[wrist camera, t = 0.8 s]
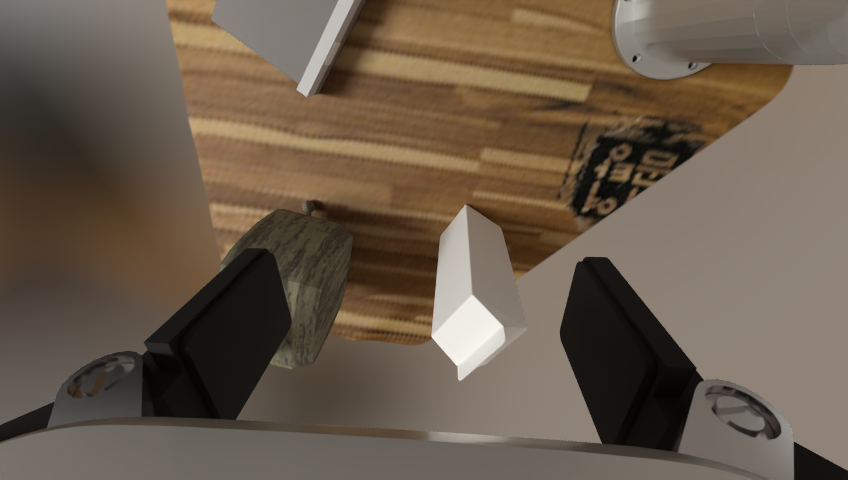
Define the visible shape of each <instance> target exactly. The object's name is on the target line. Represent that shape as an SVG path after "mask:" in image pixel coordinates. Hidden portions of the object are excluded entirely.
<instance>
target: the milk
mask: <svg viewBox="0 0 848 480" xmlns="http://www.w3.org/2000/svg"><path fill="white" fill-rule="evenodd" d="M527 329H528V326H527V322H526V318H525V314H524V311H523V307H522V303H521V299H520V296H519V292H518V288H517V285H516V281H515V277H514V273H513V270H512V266H511V262H510V258H509V255H508V251H507V247H506V244H505V240H504V236H503V232H502V229H501V227H499V226H498V225H496V224H495V223H493V222H492V221H490V220H489V219H487V218H486V217H484V216H483V215H482V214H480V213H479V212H477V211H476V210H474V209H473V208H471V207H470V206H468V205H465V206H464V207H463V208H462V210H461V211H460V212H459V213H458V215H457V216H456V217H455V218H454V220H453V221H452V222H451V223H450V225H449V226H448V227H447V228H446V230H445V231H444V232H443V233H442V235H441V236H440V244H439V256H438V267H437V279H436V290H435V302H434V313H433V325H432V338H433V339H434V340H435V341H436V343H437V344H438V345H439V346H440V347H441V348H442V349H443V350H444V352H445V353H446V354H447V355H448V356H449V357H450V358H451V359H452V361H453V362H454V363H455V364H456V365H457V366H458V379H459V380H460V381H461V380H462V379H464V378H465V377H466V376H467V375H468V374H469V373H471V372H472V371H473V370H474V369H475V368H476V367H477V366H484V365H485V364H487V363H488V362H489V361H490V360H491V359H493V358H494V357H495V356H496V355H497V354H498V353H500V352H501V351H502V350H503V349H504V348H506V347H507V346H508V345H509V344H510V343H512V342H513V341H514V340H515V339H516V338H517V337H519V336H520V335H521V334H522V333H523V332H524V331H526V330H527Z"/></svg>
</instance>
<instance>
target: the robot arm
mask: <svg viewBox="0 0 848 480" xmlns="http://www.w3.org/2000/svg"><path fill="white" fill-rule="evenodd" d="M611 26H612V38H613V42H614V46H615V49H616V51H617V53H618V55H619V57H620V59H621V60H622V62H623V63H624V64H625V65H626V66H627V67H628V68H629V69H630V70H632V71H633V72H635V73H636V74H638V75H641V76H644V77H647V78H652V79H675V78H681V77H685V76H688V75H691V74H694V73H696V72H698V71H700V70H702V69H704V68H705V67H707V66H709V65H711V64H712V63H738V64H792V65H835V64H846V63H848V0H626V1H624V0H615V4H614V7H613V14H612V22H611ZM634 56H635V60H634V61H633V62H632V59H633V57H634ZM689 64H690V66H689V67H688V65H689ZM291 322H292V319H291V314H290V311H289V307H288V303H287V299H286V296H285V292H284V288H283V284H282V281H281V277H280V273H279V269H278V266H277V262H276V258H275V256H274V254H272V253H270V252H269V250H268V249H266V248H247V249H245V250H244V251H243V252H242V253H240V254H239V255H238V256H237V257H236V258H235V259H234V260H233V261H232V262H231V263H230V264H228V265H227V266H226V267H225V268H224V269H223V270H222V271H221V272H220V273H219V274H218V275H217V276H216V277H214V278H213V279H212V280H211V281H210V282H209V283H208V284H207V285H206V286H205V287H203V288H202V289H201V290H200V291H199V292H198V293H197V294H196V295H195V296H194V297H193V298H192V299H191V300H190V301H188V302H187V303H186V304H185V305H184V306H183V307H182V308H181V309H179V310H178V311H177V312H176V313H175V314H174V315H173V316H172V317H171V318H170V319H169V320H168V321H166V322H165V323H164V324H163V325H162V326H161V327H160V328H159V329H158V330H157V331H156V332H154V333H153V334H152V335H151V336H150V337H149V338H148V339H147V340H146V341H145V342H144V344H145V346H146V347H147V349H148V350H147V351H146V352H145V353H144V354H143V355H141V354H139V353H137V352H135V351H120V352H115V353H112V354H108V355H105V356H103V357H100V358H98V359H96V360H93V361H92V362H90V363H88V364H86V365H85V366H83V367H81V368H80V369H79V370H77V371H76V372H75V373H73V374H72V375H71V376H69V378H68V379H67V380H66V381H65V382H64V383H63V384H62V385H61V387H60V389H59V391H58V393H57V395H56V399H55V402H53V403H50V404H48V405H46V406H43V407H41V408H39V409H36V410H34V411H32V412H30V413H27V414H25V415H23V416H20V417H18V418H16V419H13V420H11V421H9V422H6V423H4V424H2V425H0V480H848V471H847V470H845V469H843V468H841V467H840V466H838V465H836V464H834V463H832V462H830V461H829V460H826V459H825V458H823V457H821V456H819V455H818V454H816V453H814V452H812V451H810V450H808V449H807V448H804V447H803V446H801V445H799V444H797V443H795V442H794V441H793V433H792V429H791V426H790V425H789V423H788V422H787V420H786V419H785V417H784V416H783V415H782V414H781V413H780V412H779V411H778V410H777V409H776V408H775V407H774V406H773V405H772V404H770V403H769V402H768V401H766V400H765V399H763V398H762V397H761V396H759V395H758V394H756V393H754V392H752V391H750V390H748V389H747V388H745V387H742V386H740V385H737V384H734V383H732V382H728V381H723V380H718V379H712V380H711V379H709V380H705V381H704V380H703V378H702V377H701V376H700V375H699V373H698V372H697V371H696V367H695V366H694V364H693V363H692V362H691V361H690V360H689V358H688V357H687V356H686V354H685V353H684V352H683V351H682V349H681V348H680V347H679V346H678V344H677V343H676V342H675V341H674V340H673V338H672V337H671V336H670V335H669V334H668V332H667V331H666V330H665V328H664V327H663V326H662V325H661V323H660V322H659V321H658V320H657V318H656V317H655V316H654V315H653V313H652V312H651V311H650V310H649V308H648V307H647V306H646V305H645V303H644V302H643V301H642V300H641V298H640V297H639V296H638V295H637V294H636V293H635V291H634V290H633V289H632V287H631V286H630V285H629V284H628V282H627V281H626V280H625V279H624V277H623V276H622V275H621V274H620V272H619V271H618V270H617V269H616V267H614V265H613V264H612V262H611V261H610V260H609V259H608V258H606V257H585V258H584V259H583V261H582V262H578V263H577V265H576V268H575V272H574V276H573V280H572V284H571V288H570V292H569V296H568V300H567V304H566V308H565V312H564V316H563V320H562V324H561V328H560V338H561V342H562V344H563V347H564V349H565V352H566V354H567V357H568V359H569V362H570V364H571V367H572V369H573V372H574V374H575V377H576V379H577V382H578V384H579V387H580V389H581V392H582V395H583V397H584V400H585V402H586V404H587V407H588V409H589V412H590V414H591V417H592V419H593V422H594V425H595V427H596V429H597V432H598V435H599V437H600V440H601V442H602V444H599V443H587V442H575V441H563V440H549V439H534V438H519V437H505V436H490V435H475V434H461V433H445V432H430V431H413V430H397V429H381V428H365V427H349V426H332V425H316V424H315V425H314V424H298V423H280V422H279V423H278V422H261V421H245V420H236V418H237V416H238V415H239V413H240V412H241V410H242V408H243V407H244V405H245V403H246V402H247V400H248V398H249V396H250V395H251V393H252V391H253V390H254V388H255V387H256V385H257V383H258V381H259V380H260V378H261V376H262V375H263V373H264V371H265V370H266V368H267V366H268V365H269V363H270V361H271V360H272V358H273V356H274V355H275V353H276V351H277V350H278V348H279V346H280V345H281V343H282V341H283V340H284V338H285V336H286V335H287V333H288V331H289V329H290V327H291Z"/></svg>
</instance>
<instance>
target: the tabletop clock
mask: <svg viewBox="0 0 848 480" xmlns="http://www.w3.org/2000/svg"><path fill="white" fill-rule="evenodd" d="M302 208H303V210H304V211H305V212H306V215H305V214H301V213H297V212H293V211H289V210H285V209H278V210H276V211H274V212H272V213H270V214H269V215H267V216H266V217H264V218H263V219H262V220H260V221H259V222H257V223H256V224H255V225H254V226H253V227H252V228H251V229H250V230H249V231H248V232H247V233H246V234H245V235H244V236H243V237H241V238H240V239H239V241H238V242H237V243H236V244H235V245H234V246H233V247H232V249H231V250H230V251H229V252H228V254H227V255H226V257H225V258H224V260H223V261H222V263H221V266H220V270H219V273H220V272H221V271H222V270H223V269H224V268H225V267H226V266H227V265H228V264H230V263H231V262H232V261H233V260H234V259H235V258H236V257H237V256H238V255H239V254H240V253H242V252H243V251H244V250H245V249H247V248H266V249H268V250H269V252H270V253H272V254H274V256H275V258H276V262H277V266H278V269H279V273H280V277H281V281H282V284H283V288H284V292H285V296H286V299H287V303H288V307H289V311H290V314H291V319H292V322H291V327H290V329H289V331H288V333H287V335H286V336H285V338H284V340H283V341H282V343H281V345H280V346H279V348H278V350H277V351H276V353H275V355H274V356H273V358H272V360H271V361H270V363H269V364H272V365H276V366H280V367H285V368H289V369H293V370H294V369H298V368H301V367H304V366H307V365H310V364H313V363H314V361H315V360H316V358H317V356H318V355H319V353H320V351H321V348H322V346H323V344H324V342H325V340H326V338H327V336H328V334H329V332H330V330H331V327H332V325H333V323H334V321H335V318H336V316H337V314H338V311H339V309H340V306H341V303H342V301H343V297H344V293H345V288H346V282H347V276H348V270H349V264H350V257H351V251H352V243H353V235H352V234H351V233H350V232H349V231H348V230H347V229H346V228H345V227H344V226H343V225H342V224H340V223H336V222H332V221H328V220H324V219H320V218H316V217H312V216H311V212H312V211H314V209H315V206H314V203H313V202H311V201H306V202H304V203H303V205H302Z"/></svg>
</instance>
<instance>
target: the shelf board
mask: <svg viewBox="0 0 848 480" xmlns="http://www.w3.org/2000/svg"><path fill="white" fill-rule="evenodd" d="M365 2H366V0H217V1H216V4H215V7H214V11H213V14H212V17H211V20H212V21H213V22H215V23H216V24H217V25H219V26H220V27H222V28H223V29H224V30H226V31H227V32H228V33H230V34H231V35H232V36H234V37H235V38H237V39H238V40H239V41H241V42H242V43H243V44H245V45H246V46H247V47H249V48H250V49H252V50H253V51H254V52H256V53H257V54H258V55H260V56H261V57H262V58H264V59H265V60H267V61H268V62H269V63H271V64H272V65H273V66H275V67H276V68H278V69H279V70H280V71H282V72H283V73H284V74H286V75H287V76H288V77H290V78H291V79H293V80H294V81H295V82H297V83H298V84H299V85H298V88H297V90H298V91H299V92H301V93H302V94H303V95H305V96H306V97H308V96H312V95H316V94H319V92H320V90H321V88H322V86H323V84H324V82H325V80H326V78H327V77H328V75H329V73H330V71H331V69H332V67H333V65H334V63H335V61H336V59H337V57H338V55H339V53H340V51H341V49H342V47H343V45H344V43H345V41H346V39H347V37H348V35H349V33H350V31H351V29H352V27H353V25H354V23H355V21H356V19H357V17H358V15H359V13H360V11H361V9H362V7H363V6H364V4H365Z"/></svg>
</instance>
